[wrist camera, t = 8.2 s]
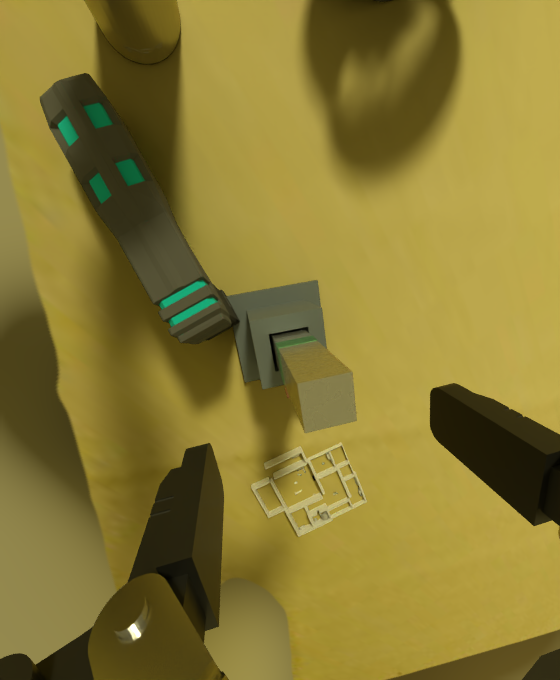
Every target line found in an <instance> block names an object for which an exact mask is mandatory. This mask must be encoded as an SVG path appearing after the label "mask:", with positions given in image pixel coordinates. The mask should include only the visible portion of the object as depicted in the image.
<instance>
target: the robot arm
mask: <svg viewBox="0 0 560 680" xmlns="http://www.w3.org/2000/svg"><path fill="white" fill-rule="evenodd" d="M84 1H85V3H86V4H87V6H88V8H89V10H90V11H91V13H92V15H93V17H94V18H95V20H96V22H97V24H98V25H99V27H100V29H101V31H102V32H103V34H104V36H105V37H106V39H107V40H108V42H109V43H110V44H111V45H112V46H113V47H114V48H115V50H117V51H118V52H119V53H120V54H122V55H123V56H124V57H126V58H128V59H130V60H132V61H134V62H138V63H141V64H152V63H157V62H160V61H162V60H163V59H165V58H166V57H168V56H169V55H170V54H171V53H172V51H173V50H174V48H175V46H176V44H177V42H178V39H179V34H180V14H179V9H178V5H177V0H84ZM430 427H431V431H432V433H433V435H434V437H435V438H436V440H437V441H438V442H439V443H440V444H441V445H443V446H444V447H445V448H446V449H447V450H448V451H449V452H451V453H452V454H453V455H454V456H455V457H456V458H457V459H458V460H460V461H461V462H462V463H463V464H464V465H465V466H466V467H468V468H469V469H470V470H471V471H472V472H473V473H474V474H475V475H477V476H478V477H479V478H480V479H481V480H482V481H483V482H485V483H486V484H487V485H488V486H489V487H490V488H491V489H493V490H494V491H495V492H496V493H497V494H498V495H499V496H500V497H502V498H503V499H504V500H505V501H506V502H507V503H508V504H510V505H511V506H512V507H513V508H514V509H515V510H516V511H517V512H519V513H520V514H521V515H522V516H523V517H524V518H525V519H527V520H528V521H529V522H530V523H531V524H532V525H533V526H536V525H539V524H542V523H545V522H548V521H551V520H553V521H554V522H555V523H556V524H558V525H559V530H558V535H559V538H560V435H559V434H558V433H556V432H554V431H552V430H550V429H548V428H546V427H544V426H543V425H541V424H539V423H537V422H535V421H533V420H531V419H529V418H527V417H523V416H522V414H520V413H518V412H516V411H514V410H512V409H511V410H510V409H509V407H507V406H505V405H503V404H501V403H499V402H497V401H496V400H494V399H491V398H488V397H485V396H482V395H478V394H475V393H473V392H471V391H469V390H468V389H466V388H464V387H462V386H460V385H458V384H455V383H452V384H448V385H444V386H440V387H436V388H433V389H432V390H431V393H430ZM223 510H224V491H223V484H222V479H221V476H220V472H219V469H218V466H217V462H216V459H215V456H214V452H213V449H212V446H211V444H210V443H208V444H204V445H200V446H196V447H192V448H188V449H186V451H185V454H184V458H183V462H182V466H181V467H179V468H175V469H171V471H170V472H169V473H168V475H167V476H166V477H165V479H164V480H163V481H162V483H161V484H160V486H159V489H158V492H157V495H156V498H155V504H154V505H153V508H152V511H151V514H150V515H151V517H150V518H149V520H148V523H147V526H146V529H145V532H144V535H143V538H142V541H141V544H140V547H139V550H138V553H137V556H136V559H135V562H134V565H133V568H132V571H131V574H130V577H129V580H128V582H127V583H126V584H125V585H124V586H123V587H121V588H120V589H119V590H118V591H117V592H116V593H115V594H114V595H113V596H112V598H110V600H109V601H108V602H107V604H106V605H105V606H104V608H103V609H102V611H101V612H100V614H99V616H98V617H97V620H96V621H95V624H94V626H93V627H92V628H91V629H89V630H88V631H86V632H85V633H84V634H82V635H81V636H79V637H78V638H76V639H75V640H73V641H71V642H70V643H68V644H67V645H65V646H64V647H62V648H61V649H59V650H58V651H56V652H55V653H53V654H51V655H50V656H48V657H47V658H45V659H44V660H42V661H41V662H39V663H38V664H36V665H35V664H34V663H33V662H32V660H31V659H30V658H29V657H28V656H27V655H24V654H13V655H9V656H6V657H4V658H2V659H0V680H229V679H228V678H227V677H226V675H225V674H224V673H223V672H221V671H220V669H219V668H218V666H217V665H216V663H215V662H214V660H213V658H212V657H211V655H210V653H209V652H208V650H207V648H206V646H205V645H204V635H205V631H207V630H210V629H213V628H216V627H219V607H220V583H221V559H222V534H223ZM522 680H560V649H558V650H555V651H553V652H550V653H547V654H545V655H542V656H541V657H540V658H539V659H538V660H537V662H536V663H535V664H534V666H533V667H532V668H531V669H530V670H529V672H528V673H527V674H526V675H525V677H524V678H523V679H522Z"/></svg>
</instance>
